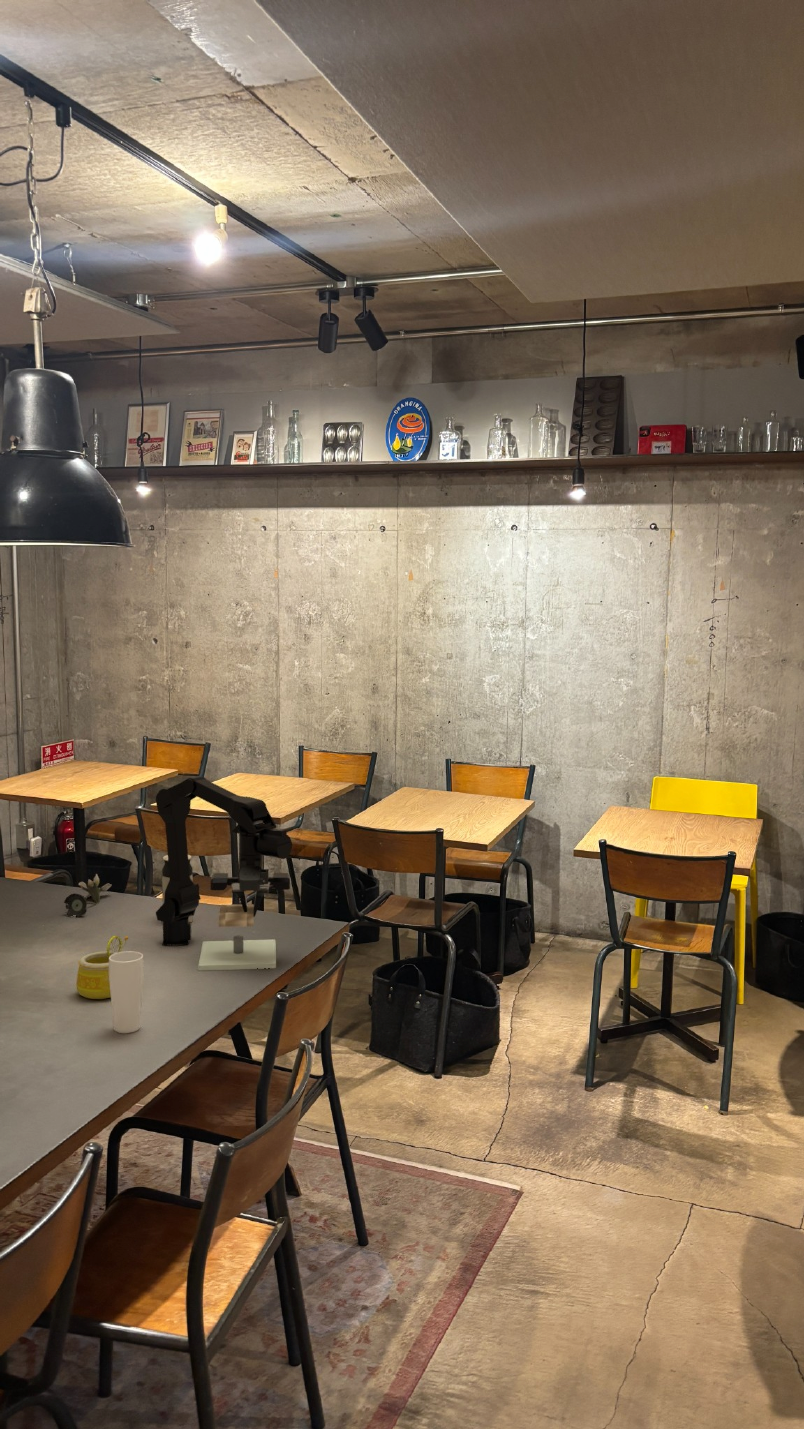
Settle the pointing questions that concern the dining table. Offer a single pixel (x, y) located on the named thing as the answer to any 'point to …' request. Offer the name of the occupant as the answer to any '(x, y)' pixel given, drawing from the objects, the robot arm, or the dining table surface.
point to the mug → (96, 972)
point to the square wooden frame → (236, 916)
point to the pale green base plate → (237, 954)
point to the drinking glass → (126, 990)
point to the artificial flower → (79, 902)
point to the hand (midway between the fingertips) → (250, 916)
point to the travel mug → (166, 878)
